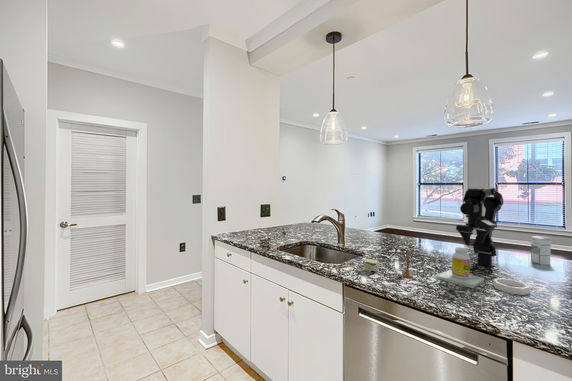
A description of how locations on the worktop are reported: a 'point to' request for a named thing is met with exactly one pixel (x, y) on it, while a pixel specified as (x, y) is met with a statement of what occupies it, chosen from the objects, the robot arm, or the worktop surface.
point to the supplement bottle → (461, 263)
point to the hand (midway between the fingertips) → (474, 244)
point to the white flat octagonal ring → (518, 286)
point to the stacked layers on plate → (370, 265)
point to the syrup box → (540, 250)
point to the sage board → (469, 282)
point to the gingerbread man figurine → (406, 272)
